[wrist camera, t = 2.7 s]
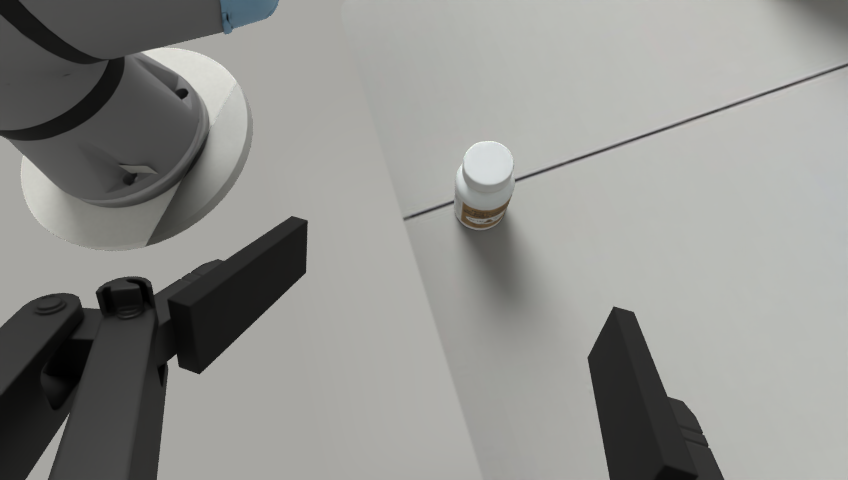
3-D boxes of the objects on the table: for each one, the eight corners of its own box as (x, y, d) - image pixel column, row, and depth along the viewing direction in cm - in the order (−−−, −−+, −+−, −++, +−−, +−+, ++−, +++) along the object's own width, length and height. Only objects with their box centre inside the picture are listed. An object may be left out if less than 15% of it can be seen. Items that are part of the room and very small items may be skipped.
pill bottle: (463, 238, 32) (468, 200, 25) (447, 193, 34) (447, 144, 26) (512, 222, 33) (532, 180, 25) (494, 178, 34) (507, 126, 27)
